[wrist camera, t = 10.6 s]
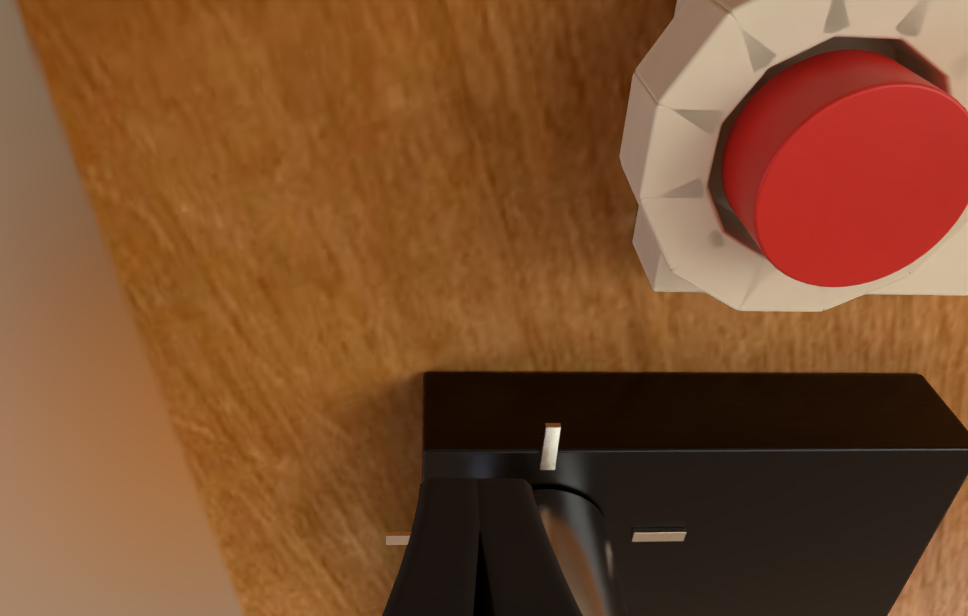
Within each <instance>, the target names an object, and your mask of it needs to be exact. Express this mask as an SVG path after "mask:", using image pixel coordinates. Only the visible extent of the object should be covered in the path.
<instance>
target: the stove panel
mask: <svg viewBox="0 0 968 616" xmlns="http://www.w3.org/2000/svg"><path fill="white" fill-rule="evenodd" d="M967 476H968V430H967V429H966V428H965V427H964V425H963V424H962V423H961V422H960V421H959V419H958V418H957V417H956V416H955V415H954V413H953V412H952V411H951V410H950V408H949V407H948V406H947V405H946V404H945V402H944V401H943V400H942V399H941V397H940V396H939V395H938V394H937V393H936V391H935V390H934V389H933V388H932V387H931V385H930V384H929V383H928V382H927V380H926V379H925V378H924V377H923V376H922V375H920V374H742V373H495V372H426V373H424V375H423V423H422V482H424V481H425V480H427V479H428V478H500V479H524V480H526V481H527V482H528V483H529V484H530V485H531V487H532V490H534V489H556V490H563V491H567V492H571V493H574V494H577V495H579V496H581V497H583V498H585V499H587V500H588V501H590V502H591V503H592V504H593V505H595V506H596V507H597V508H598V510H599V511H600V512H601V514H602V515H603V517H604V519H605V522H606V525H607V529H608V534H609V538H610V542H611V546H612V550H613V554H614V559H615V563H616V567H617V571H618V575H619V580H620V584H621V588H622V592H623V596H624V601H625V605H626V609H627V613H628V616H887V615H888V613H889V612H890V610H891V608H892V606H893V605H894V603H895V601H896V599H897V598H898V596H899V594H900V592H901V591H902V589H903V587H904V585H905V584H906V582H907V580H908V579H909V577H910V575H911V573H912V572H913V570H914V568H915V566H916V565H917V563H918V561H919V559H920V558H921V556H922V554H923V552H924V551H925V549H926V547H927V545H928V544H929V542H930V540H931V538H932V537H933V535H934V533H935V531H936V530H937V528H938V526H939V524H940V523H941V521H942V519H943V517H944V516H945V514H946V512H947V510H948V509H949V507H950V505H951V504H952V502H953V500H954V498H955V497H956V495H957V493H958V491H959V490H960V488H961V486H962V484H963V483H964V481H965V479H966V477H967ZM410 534H411V531H390V532H386V545H408V541H409V538H410Z"/></svg>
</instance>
